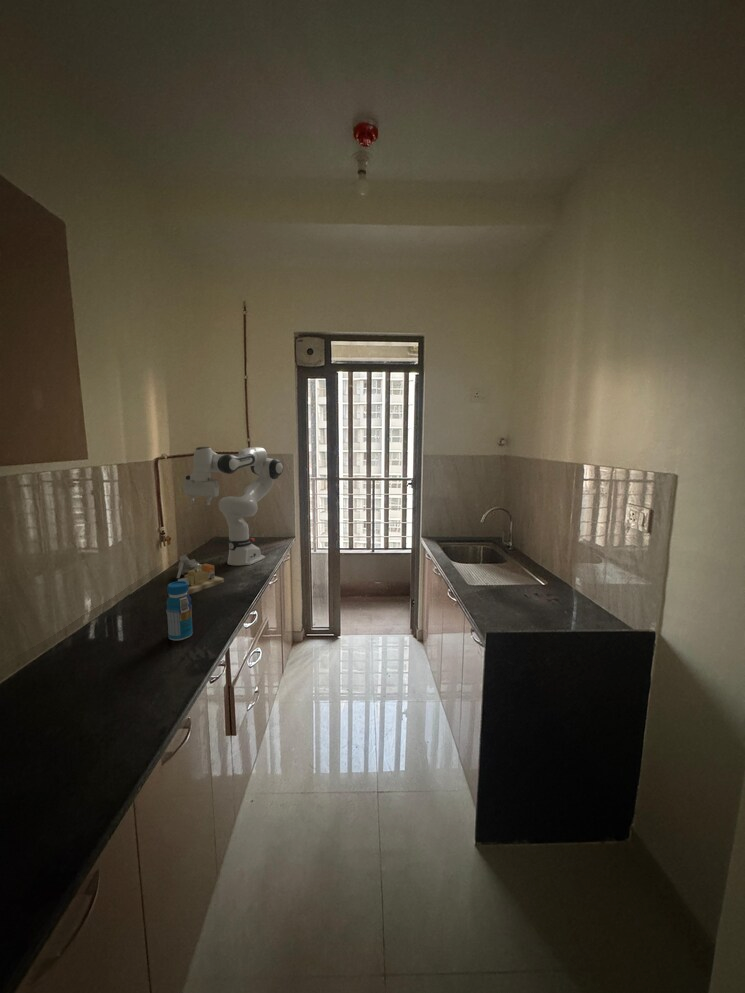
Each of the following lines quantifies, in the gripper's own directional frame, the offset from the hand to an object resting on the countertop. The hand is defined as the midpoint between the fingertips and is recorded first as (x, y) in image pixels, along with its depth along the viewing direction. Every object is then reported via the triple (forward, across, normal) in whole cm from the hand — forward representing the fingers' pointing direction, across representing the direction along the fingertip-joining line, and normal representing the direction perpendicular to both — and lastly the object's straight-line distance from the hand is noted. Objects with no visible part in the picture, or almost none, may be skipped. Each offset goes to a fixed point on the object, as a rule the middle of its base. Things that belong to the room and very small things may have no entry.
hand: (200, 504), depth 205 cm
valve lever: (+30, -15, +13) cm, 36 cm away
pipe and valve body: (+38, -10, +11) cm, 40 cm away
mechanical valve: (+40, +3, +5) cm, 40 cm away
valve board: (+40, -10, +10) cm, 42 cm away
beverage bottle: (+43, -40, +52) cm, 79 cm away
